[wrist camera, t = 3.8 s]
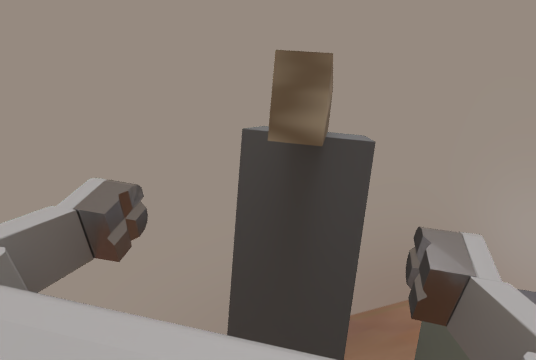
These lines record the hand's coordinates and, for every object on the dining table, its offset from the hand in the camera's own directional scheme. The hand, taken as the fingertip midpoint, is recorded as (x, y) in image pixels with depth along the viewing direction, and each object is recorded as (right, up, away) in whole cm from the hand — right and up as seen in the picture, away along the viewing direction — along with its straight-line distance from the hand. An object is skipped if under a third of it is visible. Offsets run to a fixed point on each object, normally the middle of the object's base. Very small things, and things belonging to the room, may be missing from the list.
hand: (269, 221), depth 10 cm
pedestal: (+1, -24, +23) cm, 34 cm away
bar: (+3, +5, +15) cm, 16 cm away
